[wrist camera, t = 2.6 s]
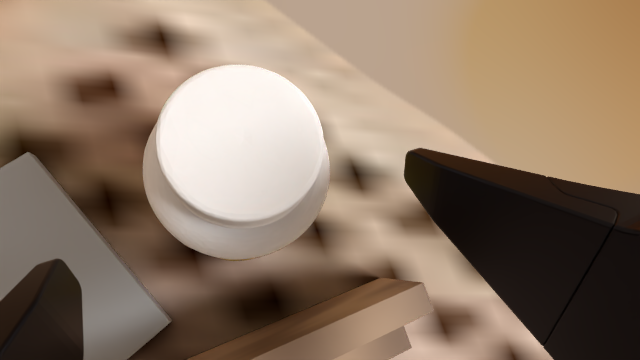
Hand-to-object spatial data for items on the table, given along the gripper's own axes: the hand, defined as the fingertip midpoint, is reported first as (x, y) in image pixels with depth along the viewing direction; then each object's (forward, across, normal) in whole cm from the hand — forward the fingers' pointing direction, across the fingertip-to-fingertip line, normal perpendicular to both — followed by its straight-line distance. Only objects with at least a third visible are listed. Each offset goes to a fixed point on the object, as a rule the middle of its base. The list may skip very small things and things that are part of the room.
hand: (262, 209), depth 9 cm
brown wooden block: (+2, 0, +11) cm, 11 cm away
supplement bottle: (+8, 0, +6) cm, 9 cm away
